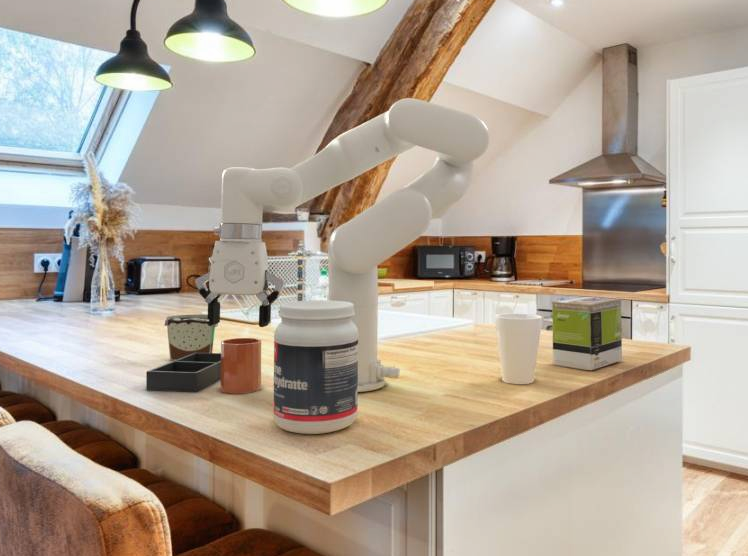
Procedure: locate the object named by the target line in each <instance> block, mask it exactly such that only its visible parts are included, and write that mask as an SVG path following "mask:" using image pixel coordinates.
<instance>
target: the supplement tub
mask: <svg viewBox="0 0 748 556" xmlns="http://www.w3.org/2000/svg"><path fill="white" fill-rule="evenodd" d="M354 315H355V313H354V304H353V303H350V302H344V301H329V299H328V300H325V299H324V300H316V299H315V300H295V301H287V302H283V303H281V304H279V313H278V316H279V317H280V318H281V322H280V323H279V324H278V325H277V326H276V328H275V330H274V334H273V404H272V405H273V410H272V411H273V413H272V417H273V421H274V422H275V424H276V425H277V426H278V427H279V428H280V429H282V430H284V431H287V432H291V433H296V434H301V435H321V434H327V433H333V432H337V431H340V430H343V429H345V428H348V427H350V426H351V425H352V424H353V423H354V422H355V421H356V420H357V417H358V404H359V403H358V402H359V400H358V397H359V395H358V393H359V392H358V336H359V334H358V329H357V327H356V325H355V324H354V323H353V322H352V316H354Z"/></svg>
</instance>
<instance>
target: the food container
mask: <svg viewBox="0 0 748 556" xmlns="http://www.w3.org/2000/svg"><path fill="white" fill-rule="evenodd" d="M164 327H166V329H167V340H168V341H167V342H168V350H169V361H170V362H172V361H175V360H177V359H180V358H183V357H185V356H188V355H190V354H193V353H213V351H214V350H213V349H214V340H215V332H216V331H215V330H216V328H217V327H219V323H217V324H214V325H209V320H208V314H177V315H170V316H166V319H165V320H164Z"/></svg>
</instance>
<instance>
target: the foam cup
mask: <svg viewBox="0 0 748 556" xmlns="http://www.w3.org/2000/svg"><path fill="white" fill-rule="evenodd" d="M494 328H495V331H496V340H497V348H498V357H499V366H500V374H501V379H502V380H501V381H502V382H504V383H507V384H512V385H529V384H532V383H534V380H535V375H536V369H537V368H536V367H537V361H538V353H539V345H540V340H541V339H540V338H541V332H542V331H541V330H543V317H542V315H538V314H532V313H521V312H520V313H518V312H516V313H513V312H511V313H498V314H497V313H496V314H495V315H494Z"/></svg>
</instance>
